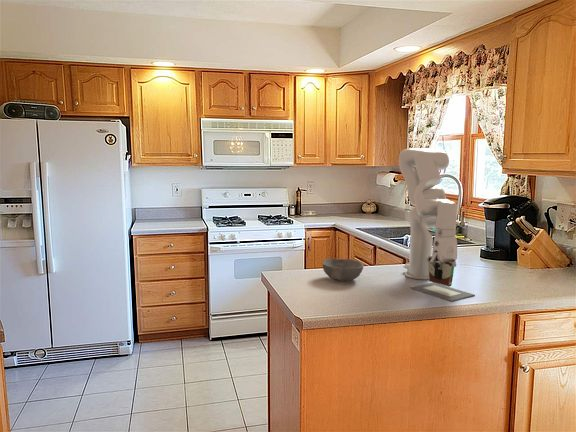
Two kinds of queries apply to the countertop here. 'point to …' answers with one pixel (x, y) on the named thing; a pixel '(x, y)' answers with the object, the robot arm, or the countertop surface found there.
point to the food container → (446, 272)
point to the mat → (442, 291)
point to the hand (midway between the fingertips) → (442, 277)
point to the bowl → (342, 269)
